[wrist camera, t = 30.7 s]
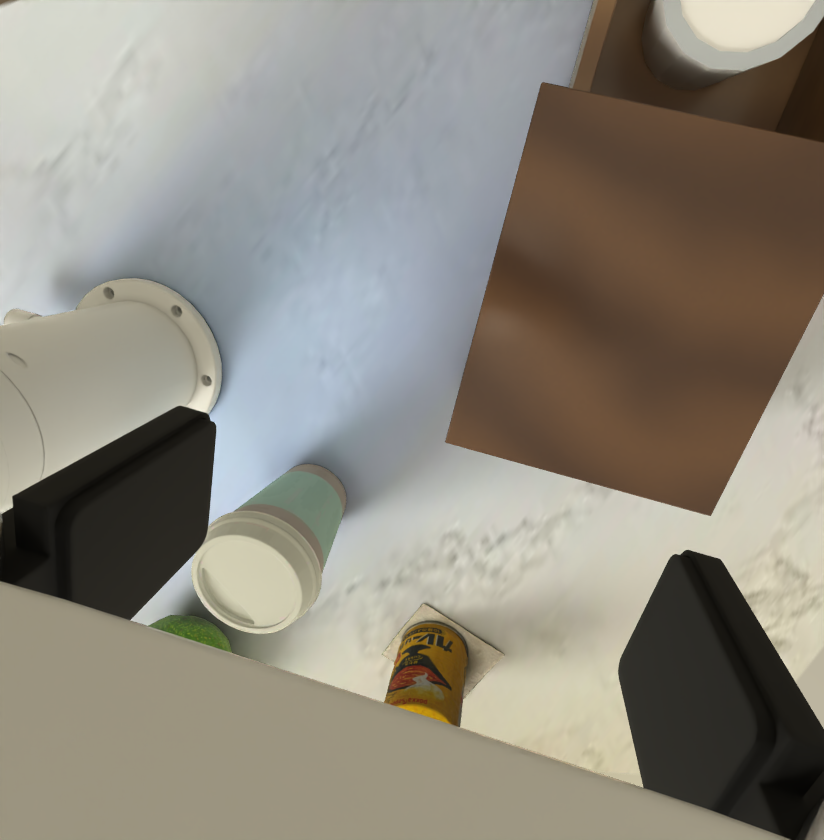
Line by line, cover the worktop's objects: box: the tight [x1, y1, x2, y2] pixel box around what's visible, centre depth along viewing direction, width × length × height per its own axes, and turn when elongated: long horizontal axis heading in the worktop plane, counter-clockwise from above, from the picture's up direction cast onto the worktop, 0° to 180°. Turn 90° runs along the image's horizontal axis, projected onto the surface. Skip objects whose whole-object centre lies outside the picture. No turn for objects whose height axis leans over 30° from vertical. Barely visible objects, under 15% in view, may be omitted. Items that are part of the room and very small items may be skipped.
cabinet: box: [445, 82, 824, 516], centre depth 31 cm, size 18×15×10 cm
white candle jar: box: [641, 0, 824, 90], centre depth 25 cm, size 7×7×7 cm
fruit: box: [149, 615, 232, 653], centre depth 49 cm, size 15×10×10 cm, turn 147°
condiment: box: [382, 604, 504, 727], centre depth 42 cm, size 7×8×12 cm
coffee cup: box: [191, 464, 346, 634], centre depth 39 cm, size 8×8×12 cm
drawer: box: [569, 0, 824, 142], centre depth 25 cm, size 22×14×8 cm, turn 167°
